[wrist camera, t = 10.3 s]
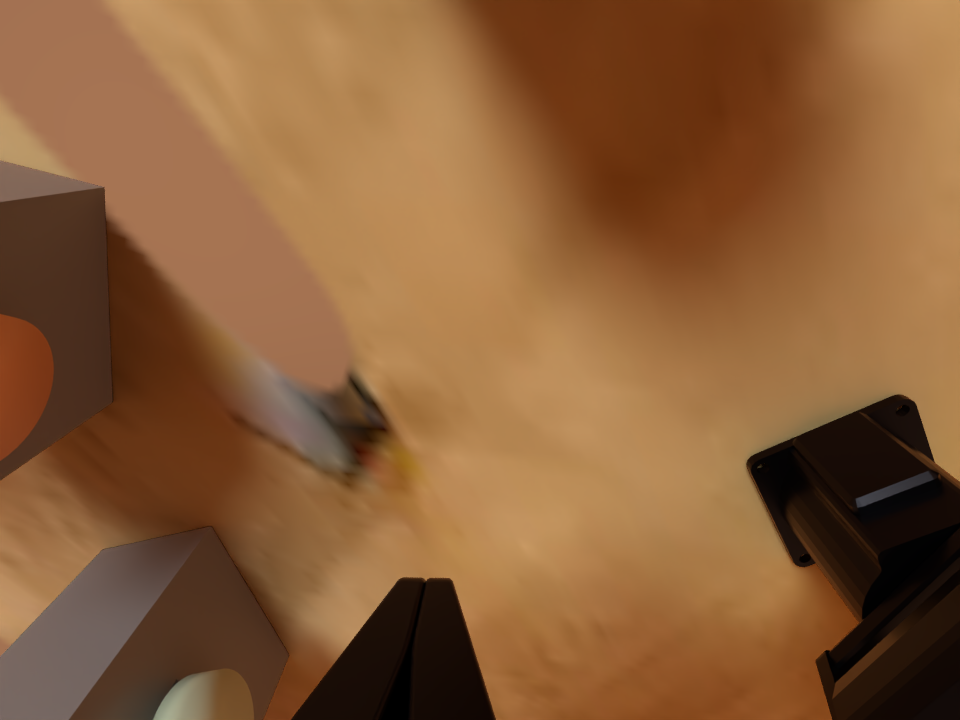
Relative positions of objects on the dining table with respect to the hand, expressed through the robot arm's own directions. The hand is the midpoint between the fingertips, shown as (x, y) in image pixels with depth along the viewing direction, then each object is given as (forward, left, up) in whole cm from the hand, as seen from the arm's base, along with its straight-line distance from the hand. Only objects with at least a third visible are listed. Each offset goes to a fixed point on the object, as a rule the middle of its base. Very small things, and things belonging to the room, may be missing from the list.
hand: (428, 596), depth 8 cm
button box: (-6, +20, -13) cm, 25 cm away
